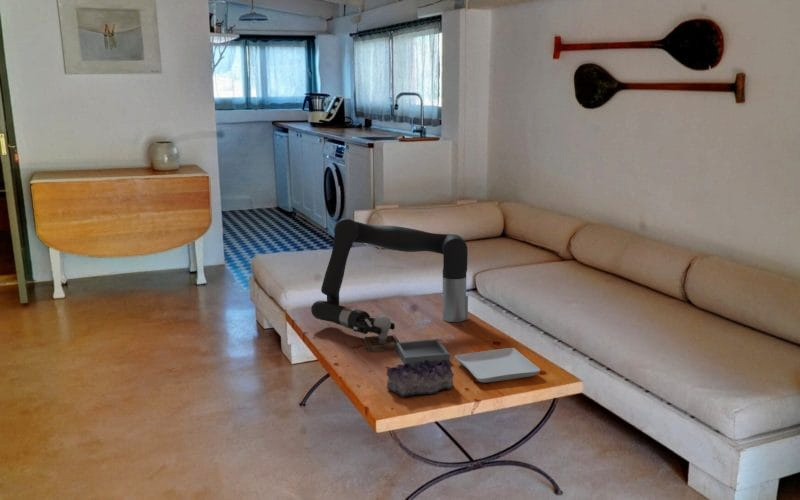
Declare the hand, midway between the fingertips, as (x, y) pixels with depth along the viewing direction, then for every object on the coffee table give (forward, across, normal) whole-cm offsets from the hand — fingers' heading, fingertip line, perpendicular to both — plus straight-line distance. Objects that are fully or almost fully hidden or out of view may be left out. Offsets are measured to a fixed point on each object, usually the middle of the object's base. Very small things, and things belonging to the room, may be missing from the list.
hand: (387, 328), depth 245 cm
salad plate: (+42, +7, +7) cm, 43 cm away
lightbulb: (-2, 0, +7) cm, 7 cm away
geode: (+33, -20, +7) cm, 39 cm away
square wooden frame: (-2, 0, +7) cm, 7 cm away
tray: (+15, +1, +6) cm, 17 cm away
